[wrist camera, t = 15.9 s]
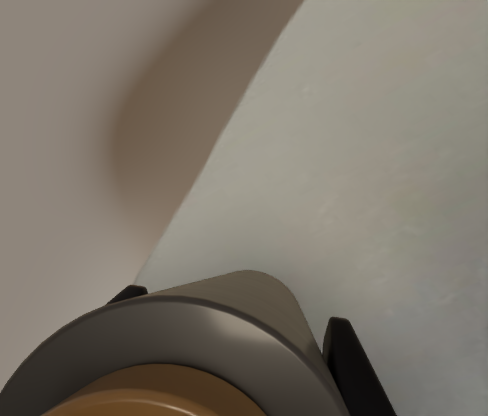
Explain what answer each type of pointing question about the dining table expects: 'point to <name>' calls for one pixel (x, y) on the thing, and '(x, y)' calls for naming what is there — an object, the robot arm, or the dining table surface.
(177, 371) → the pepper mill
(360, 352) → the robot arm
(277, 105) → the dining table surface
